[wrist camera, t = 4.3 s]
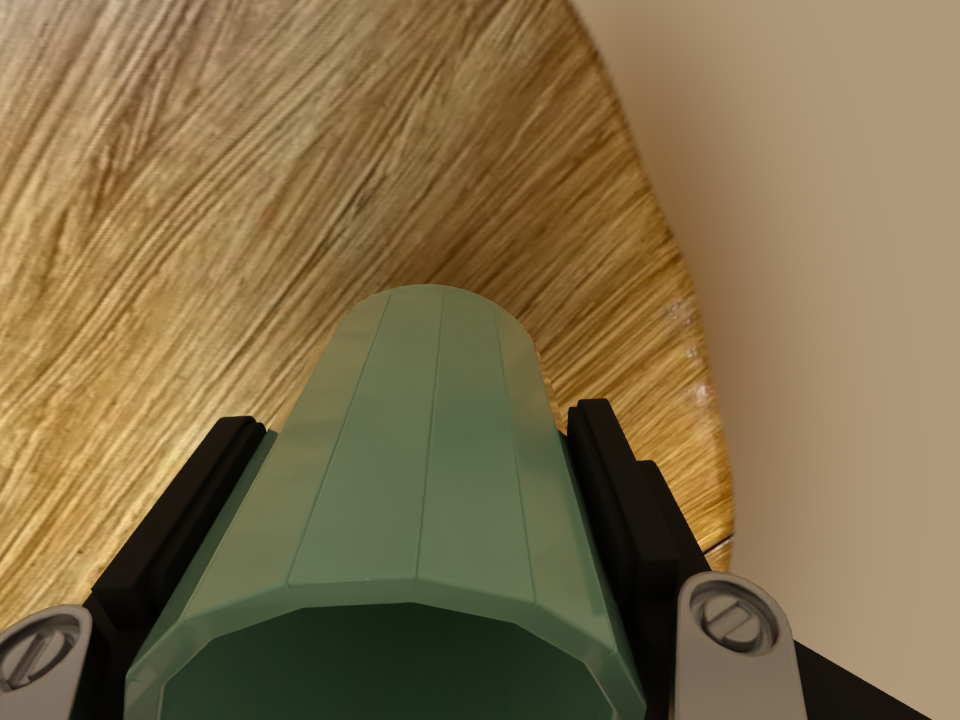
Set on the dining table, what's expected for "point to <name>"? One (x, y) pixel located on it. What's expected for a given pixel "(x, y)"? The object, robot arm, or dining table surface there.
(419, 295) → the tumbler
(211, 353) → the dining table surface
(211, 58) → the dining table surface
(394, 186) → the dining table surface
